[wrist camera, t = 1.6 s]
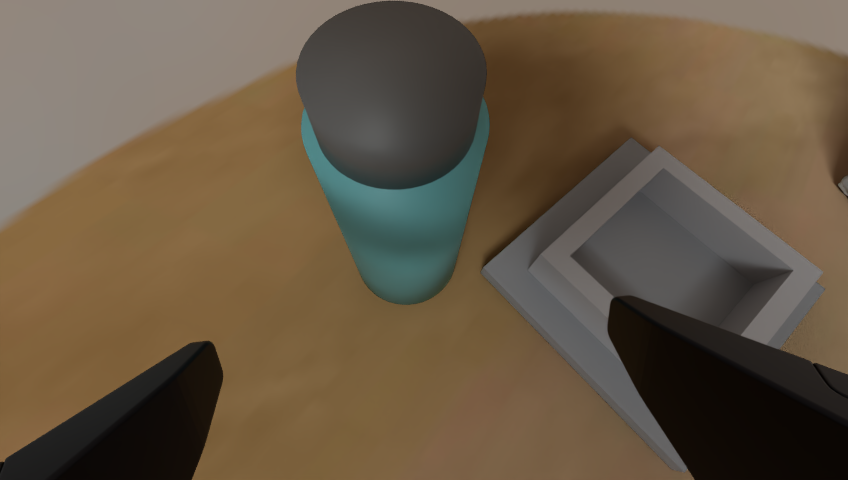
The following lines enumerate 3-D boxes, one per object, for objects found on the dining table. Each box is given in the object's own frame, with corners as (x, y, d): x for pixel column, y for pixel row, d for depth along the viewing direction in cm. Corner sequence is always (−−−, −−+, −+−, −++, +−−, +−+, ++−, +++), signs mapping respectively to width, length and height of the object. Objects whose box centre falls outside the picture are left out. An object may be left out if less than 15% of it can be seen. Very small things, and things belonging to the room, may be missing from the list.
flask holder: (808, 293, 23) (874, 275, 19) (671, 469, 19) (722, 482, 16) (623, 146, 26) (652, 110, 23) (480, 272, 23) (491, 250, 20)
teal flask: (475, 260, 23) (548, 76, 10) (400, 325, 22) (374, 207, 9) (411, 195, 25) (404, -37, 12) (338, 252, 23) (236, 58, 10)
